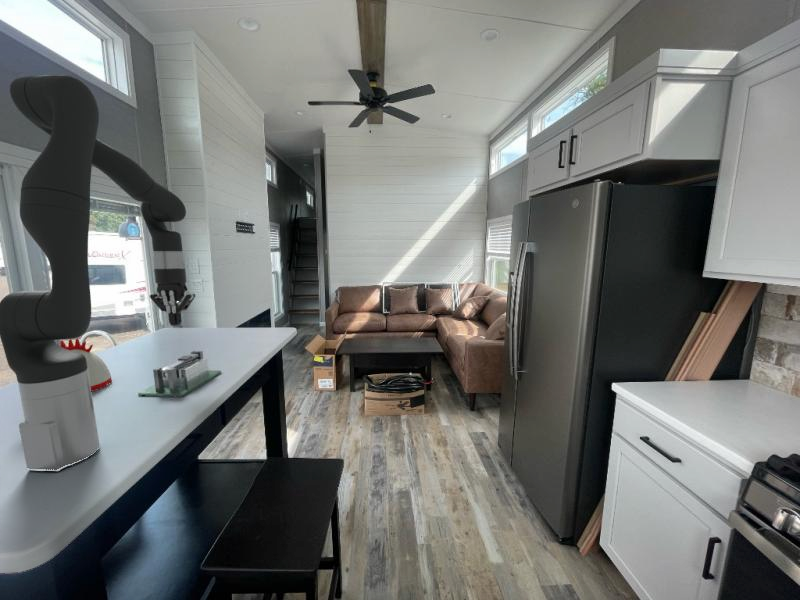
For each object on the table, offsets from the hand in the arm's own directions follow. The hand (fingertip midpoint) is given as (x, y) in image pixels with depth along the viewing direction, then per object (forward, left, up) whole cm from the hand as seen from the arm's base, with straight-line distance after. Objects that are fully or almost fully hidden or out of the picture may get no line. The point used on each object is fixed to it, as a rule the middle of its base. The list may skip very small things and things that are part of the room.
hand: (175, 325), depth 98 cm
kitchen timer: (-4, +29, -19) cm, 34 cm away
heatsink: (0, 0, -18) cm, 18 cm away
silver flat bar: (-1, 0, -12) cm, 12 cm away
